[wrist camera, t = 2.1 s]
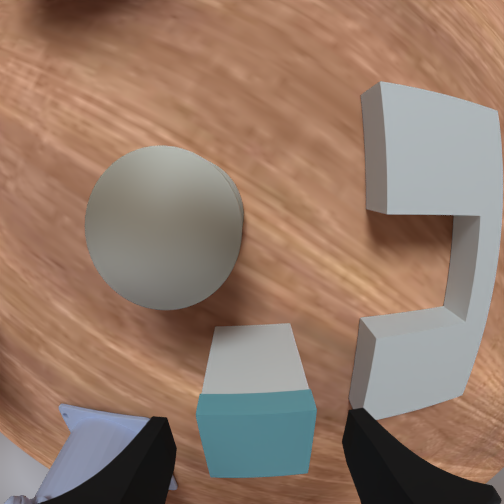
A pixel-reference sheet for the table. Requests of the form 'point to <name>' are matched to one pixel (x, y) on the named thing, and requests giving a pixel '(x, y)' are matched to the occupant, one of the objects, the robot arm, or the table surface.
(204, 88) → the table surface
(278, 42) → the table surface
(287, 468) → the teal and white block
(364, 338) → the notched board
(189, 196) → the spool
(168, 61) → the table surface
